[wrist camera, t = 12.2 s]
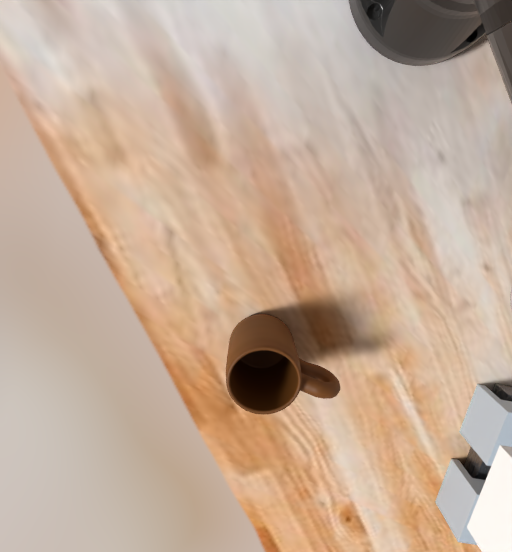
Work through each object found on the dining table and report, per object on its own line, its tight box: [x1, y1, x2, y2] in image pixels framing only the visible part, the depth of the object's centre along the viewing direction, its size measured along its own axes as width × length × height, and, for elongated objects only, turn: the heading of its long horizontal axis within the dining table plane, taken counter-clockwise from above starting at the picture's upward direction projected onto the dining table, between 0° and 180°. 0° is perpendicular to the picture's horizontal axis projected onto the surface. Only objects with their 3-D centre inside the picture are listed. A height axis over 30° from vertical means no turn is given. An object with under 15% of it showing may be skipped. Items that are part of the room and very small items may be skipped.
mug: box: [226, 314, 340, 414], centre depth 43 cm, size 12×8×9 cm, turn 76°
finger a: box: [435, 459, 486, 545], centre depth 47 cm, size 8×8×11 cm
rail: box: [464, 384, 512, 480], centre depth 50 cm, size 20×4×3 cm, turn 169°
